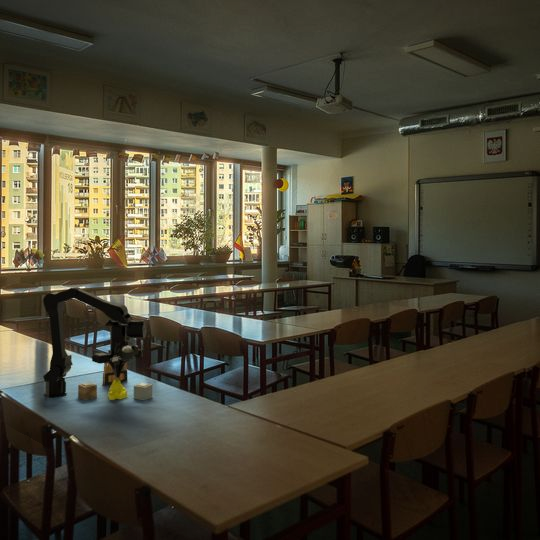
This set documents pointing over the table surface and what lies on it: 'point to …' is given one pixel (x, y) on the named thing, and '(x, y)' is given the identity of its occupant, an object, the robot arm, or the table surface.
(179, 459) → the table surface
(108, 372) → the ammunition clip
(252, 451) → the table surface
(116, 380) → the crumpled paper
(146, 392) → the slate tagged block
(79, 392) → the walnut tagged block
